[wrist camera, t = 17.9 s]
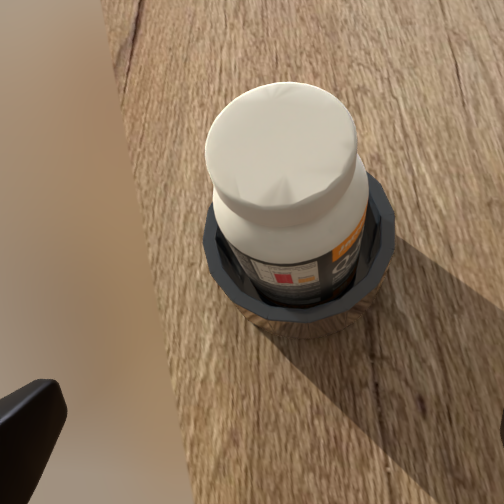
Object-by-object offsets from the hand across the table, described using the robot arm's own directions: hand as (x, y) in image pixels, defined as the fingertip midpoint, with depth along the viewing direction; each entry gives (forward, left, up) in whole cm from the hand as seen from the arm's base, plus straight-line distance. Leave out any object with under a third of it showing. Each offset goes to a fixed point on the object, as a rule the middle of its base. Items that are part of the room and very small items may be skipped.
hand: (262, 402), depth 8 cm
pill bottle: (+2, +7, -12) cm, 14 cm away
